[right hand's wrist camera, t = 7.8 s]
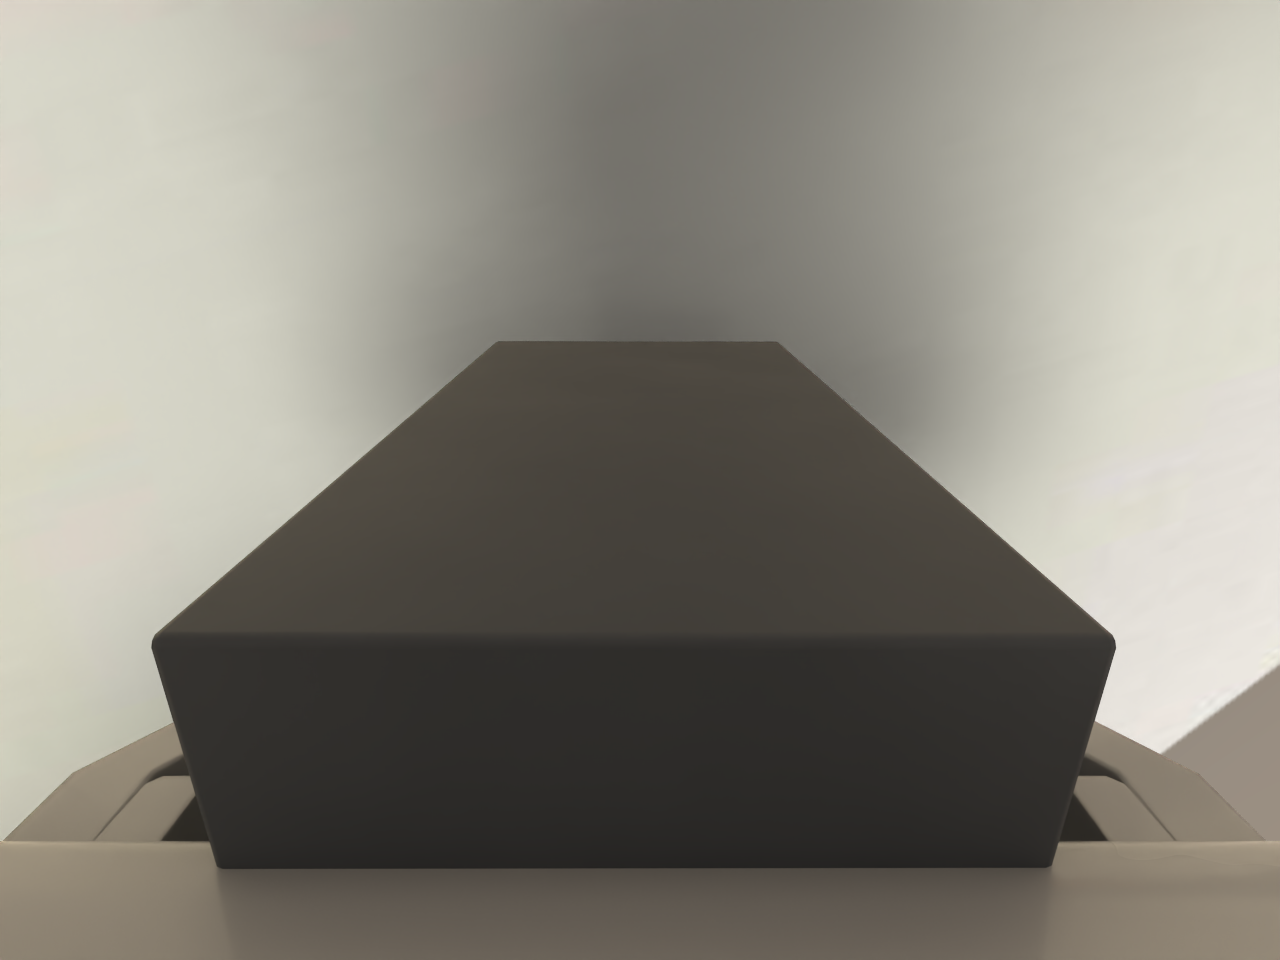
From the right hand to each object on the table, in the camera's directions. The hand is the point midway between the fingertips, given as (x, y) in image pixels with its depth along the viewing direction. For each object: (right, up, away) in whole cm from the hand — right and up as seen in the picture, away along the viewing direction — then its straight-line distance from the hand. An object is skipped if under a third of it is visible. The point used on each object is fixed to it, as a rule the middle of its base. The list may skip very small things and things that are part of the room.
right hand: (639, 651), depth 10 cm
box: (0, -5, +8) cm, 9 cm away
